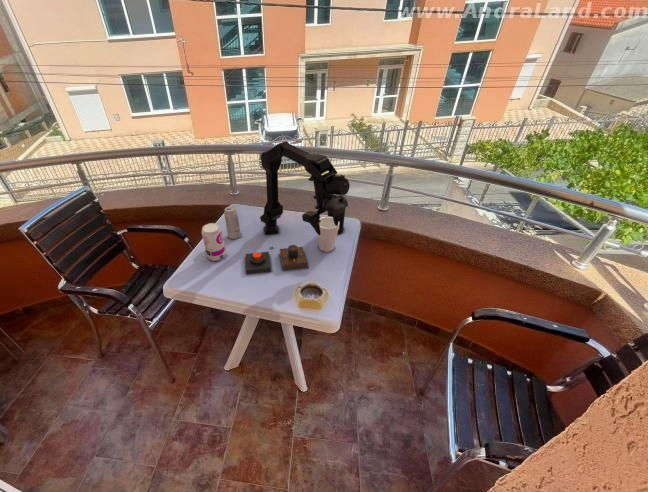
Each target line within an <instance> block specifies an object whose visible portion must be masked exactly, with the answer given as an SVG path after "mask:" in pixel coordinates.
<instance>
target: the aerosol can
mask: <svg viewBox="0 0 648 492" xmlns="http://www.w3.org/2000/svg"><path fill="white" fill-rule="evenodd" d="M333 195H334V198H337V197H338V198H343V197H344V198H346V197H345V195H336V194H333ZM345 215H346V209H344V210H343V213H341V215H340V218H339V230H338V233H337V235H340V234H342V233H344V231H345V229H344V227H345V226H344V225H345ZM327 217H332V214H331V213H329V212H327Z"/></svg>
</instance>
